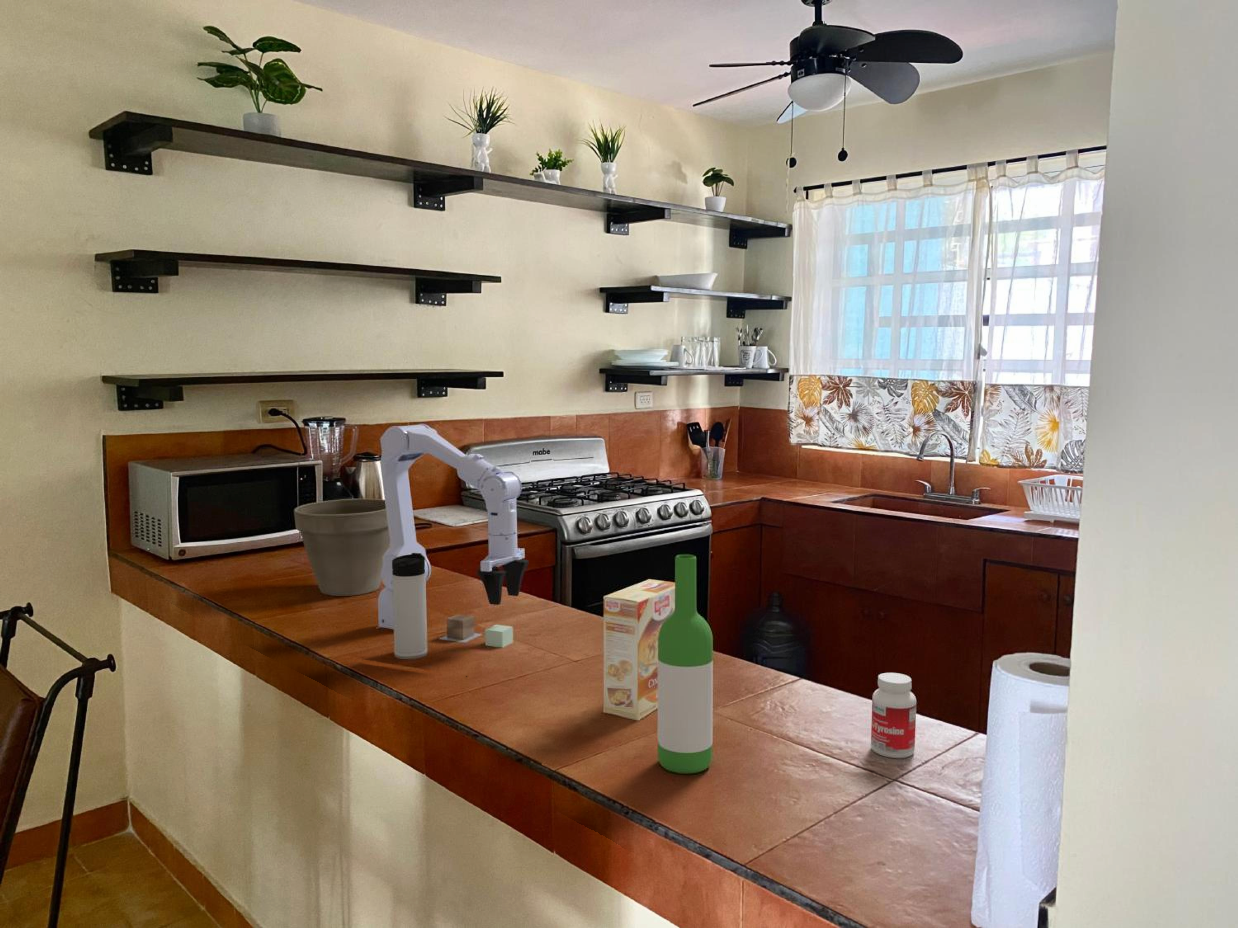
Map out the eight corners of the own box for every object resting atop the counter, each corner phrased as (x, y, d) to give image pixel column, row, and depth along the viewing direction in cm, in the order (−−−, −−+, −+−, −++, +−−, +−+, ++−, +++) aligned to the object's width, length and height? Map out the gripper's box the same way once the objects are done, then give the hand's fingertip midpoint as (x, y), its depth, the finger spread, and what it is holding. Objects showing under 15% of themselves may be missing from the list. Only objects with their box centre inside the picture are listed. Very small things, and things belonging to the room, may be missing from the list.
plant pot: (322, 607, 220) (319, 516, 218) (281, 589, 238) (278, 505, 236) (417, 590, 236) (415, 505, 234) (372, 574, 255) (369, 495, 253)
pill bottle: (863, 751, 137) (865, 678, 135) (881, 738, 141) (883, 667, 140) (904, 763, 133) (906, 687, 131) (921, 749, 137) (923, 676, 136)
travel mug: (434, 653, 184) (431, 553, 182) (416, 663, 178) (413, 560, 176) (406, 650, 186) (403, 551, 184) (388, 660, 180) (385, 558, 178)
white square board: (419, 643, 191) (419, 640, 191) (453, 628, 201) (453, 625, 201) (468, 651, 186) (468, 647, 186) (501, 635, 196) (500, 632, 196)
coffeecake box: (639, 721, 149) (638, 601, 147) (601, 712, 152) (600, 595, 150) (683, 693, 161) (683, 582, 159) (647, 686, 165) (647, 577, 163)
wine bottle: (708, 752, 136) (710, 550, 133) (716, 775, 129) (717, 561, 126) (655, 753, 136) (655, 550, 133) (659, 776, 128) (659, 562, 125)
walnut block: (447, 637, 192) (446, 618, 192) (458, 632, 196) (457, 614, 196) (463, 640, 191) (462, 620, 190) (474, 634, 194) (473, 616, 194)
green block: (485, 648, 187) (485, 629, 187) (496, 643, 191) (495, 624, 191) (502, 651, 186) (502, 631, 185) (513, 645, 189) (512, 626, 189)
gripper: (502, 540, 179) (504, 609, 180) (537, 528, 192) (538, 593, 194) (470, 538, 182) (472, 606, 183) (506, 526, 195) (508, 590, 196)
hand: (504, 599), depth 188 cm, fingers open, 7 cm apart
